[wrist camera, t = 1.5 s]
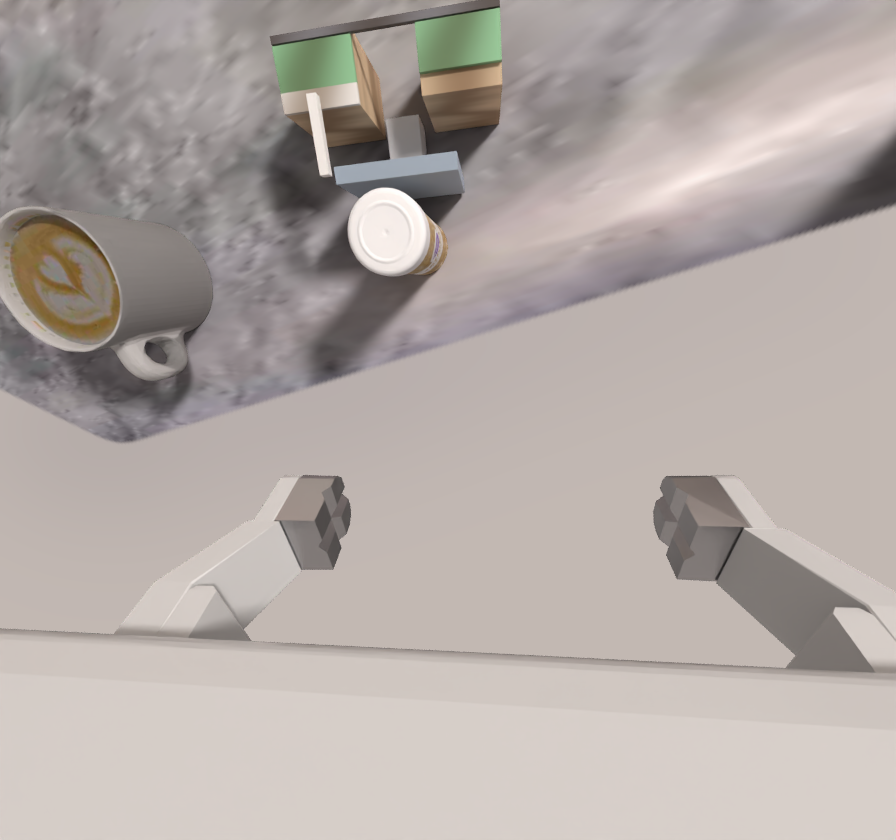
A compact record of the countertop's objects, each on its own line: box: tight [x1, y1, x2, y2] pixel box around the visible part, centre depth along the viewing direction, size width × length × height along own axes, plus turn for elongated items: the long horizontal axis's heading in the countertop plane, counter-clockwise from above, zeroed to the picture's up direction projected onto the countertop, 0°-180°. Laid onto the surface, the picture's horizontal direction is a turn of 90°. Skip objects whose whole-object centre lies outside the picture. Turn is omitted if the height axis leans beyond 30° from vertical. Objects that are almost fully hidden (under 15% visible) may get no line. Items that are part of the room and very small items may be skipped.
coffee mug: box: [0, 206, 213, 381], centre depth 34 cm, size 13×10×10 cm
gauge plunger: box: [306, 92, 465, 199], centre depth 28 cm, size 9×5×8 cm, turn 95°
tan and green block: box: [270, 0, 502, 147], centre depth 28 cm, size 14×4×7 cm, turn 95°
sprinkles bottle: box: [348, 188, 448, 276], centre depth 28 cm, size 5×5×14 cm
